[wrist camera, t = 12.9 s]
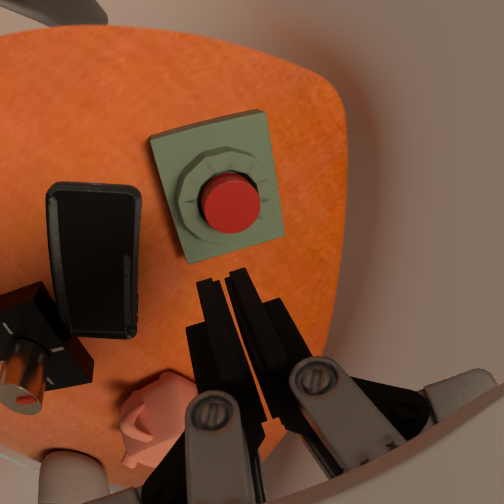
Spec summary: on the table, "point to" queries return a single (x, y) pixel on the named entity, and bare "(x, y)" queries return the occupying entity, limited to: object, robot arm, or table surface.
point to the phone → (95, 256)
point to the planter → (71, 479)
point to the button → (230, 203)
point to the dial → (24, 377)
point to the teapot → (155, 419)
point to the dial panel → (44, 335)
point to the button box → (211, 165)
